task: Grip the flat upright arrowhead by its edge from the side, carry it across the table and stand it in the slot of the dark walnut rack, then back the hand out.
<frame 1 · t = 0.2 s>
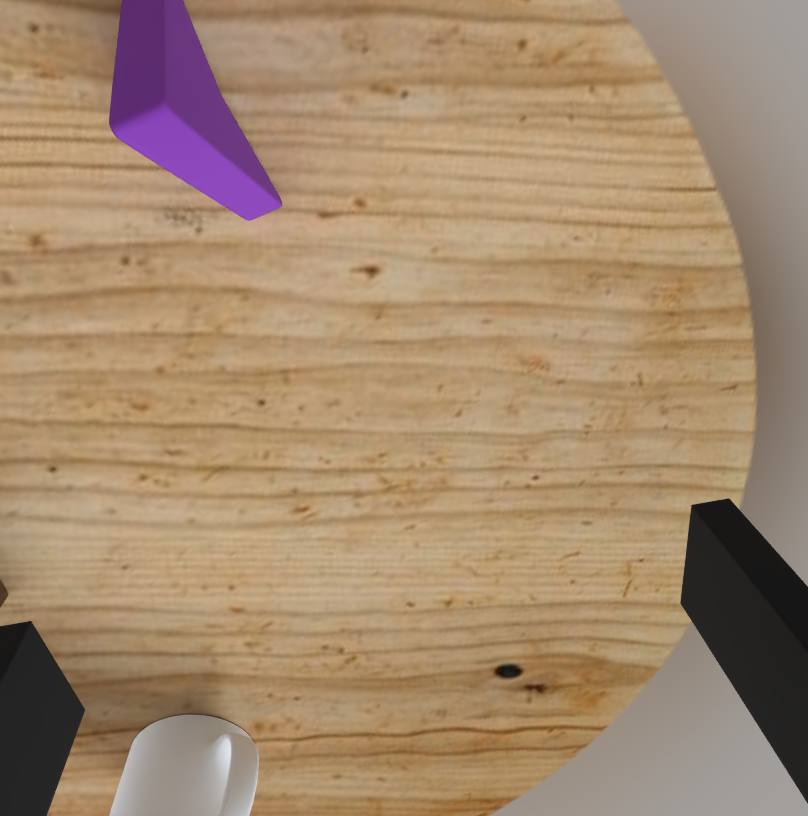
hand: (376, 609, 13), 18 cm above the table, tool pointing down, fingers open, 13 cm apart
arrowhead: (211, 101, 25), on the table
mug: (208, 735, 42), on the table
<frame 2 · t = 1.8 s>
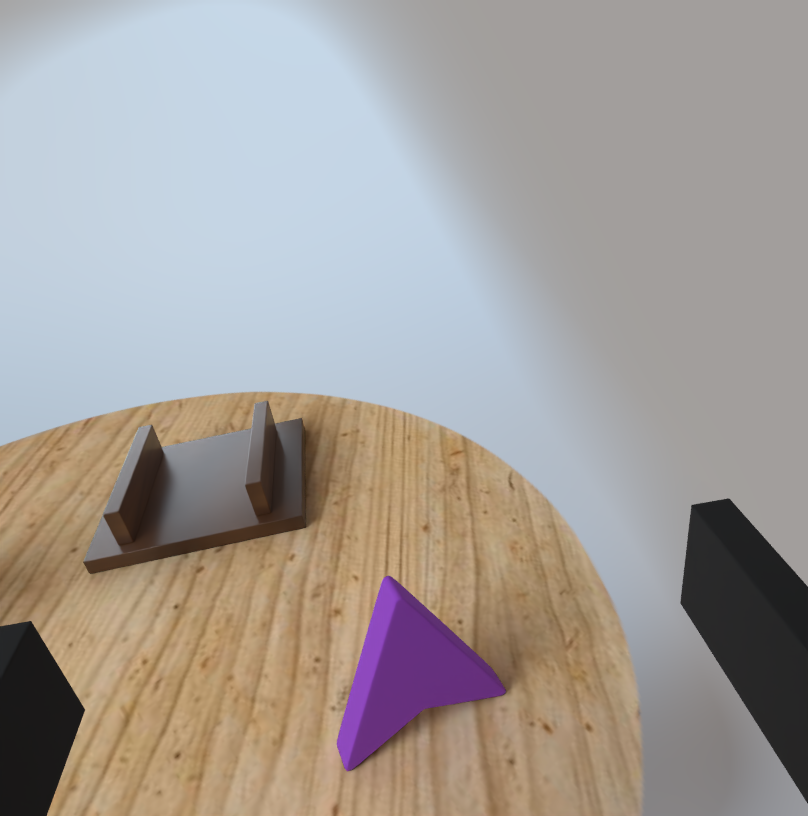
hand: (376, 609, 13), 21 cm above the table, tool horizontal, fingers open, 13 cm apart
arrowhead: (423, 721, 33), on the table
rack: (210, 492, 53), on the table
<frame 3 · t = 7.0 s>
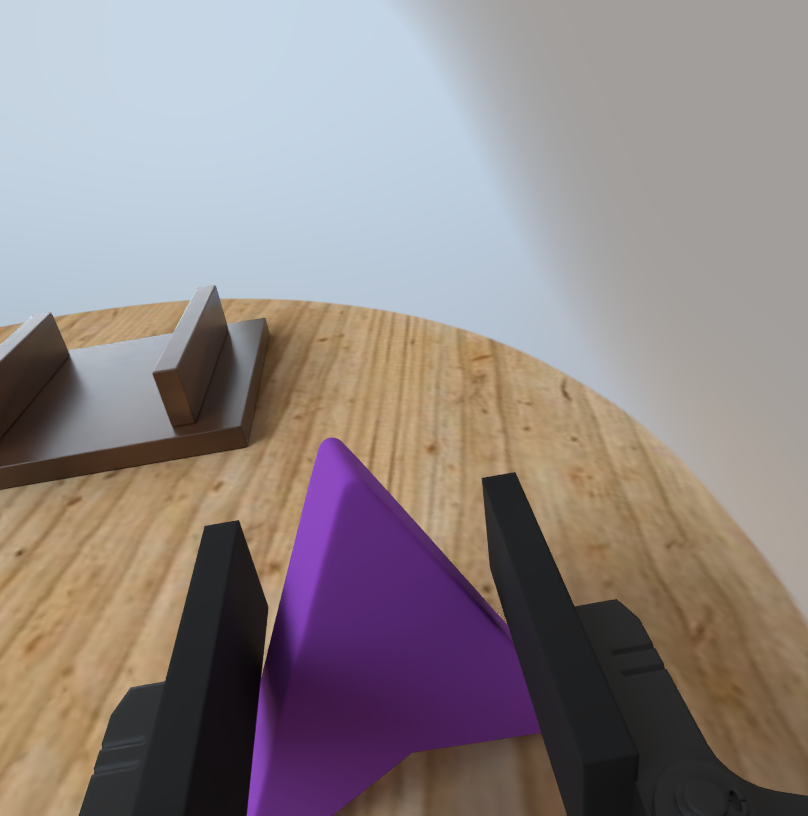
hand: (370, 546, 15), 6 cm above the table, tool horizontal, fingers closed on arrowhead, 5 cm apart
arrowhead: (411, 774, 16), on the table, touching gripper
rack: (121, 404, 37), on the table
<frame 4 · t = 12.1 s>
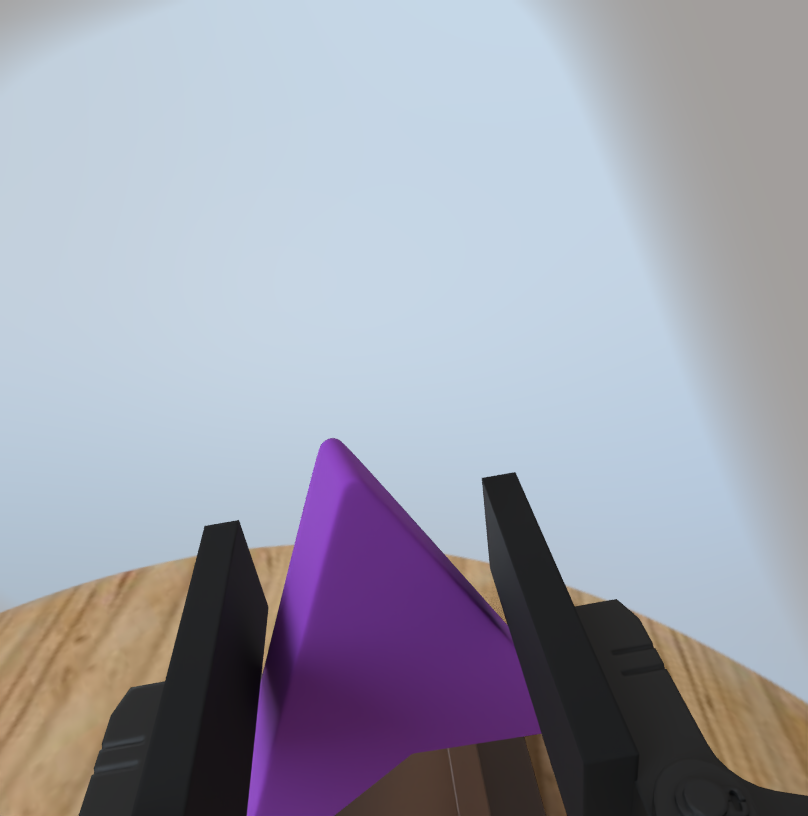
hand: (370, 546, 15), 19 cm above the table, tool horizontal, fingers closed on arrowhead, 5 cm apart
arrowhead: (411, 775, 16), point 13 cm above the table, touching gripper
rack: (353, 807, 28), on the table
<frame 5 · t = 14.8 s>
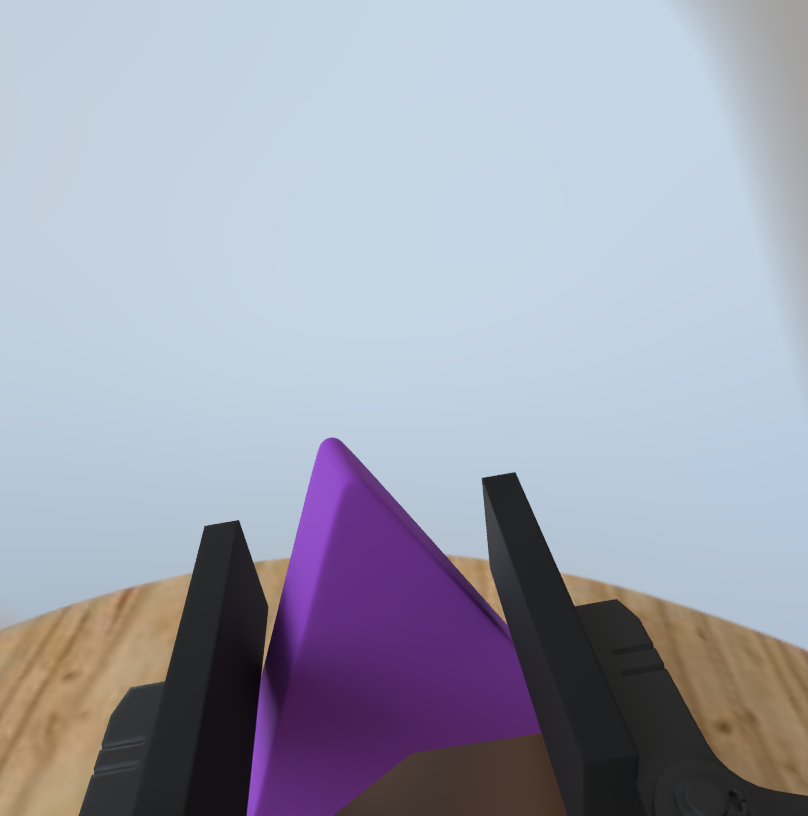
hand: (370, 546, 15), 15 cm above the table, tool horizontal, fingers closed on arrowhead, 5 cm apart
arrowhead: (411, 774, 16), point 8 cm above the table, touching gripper
when the fingers open (9 cm above the table, at t = 17.0 s): arrowhead stays where it is, resting on rack.
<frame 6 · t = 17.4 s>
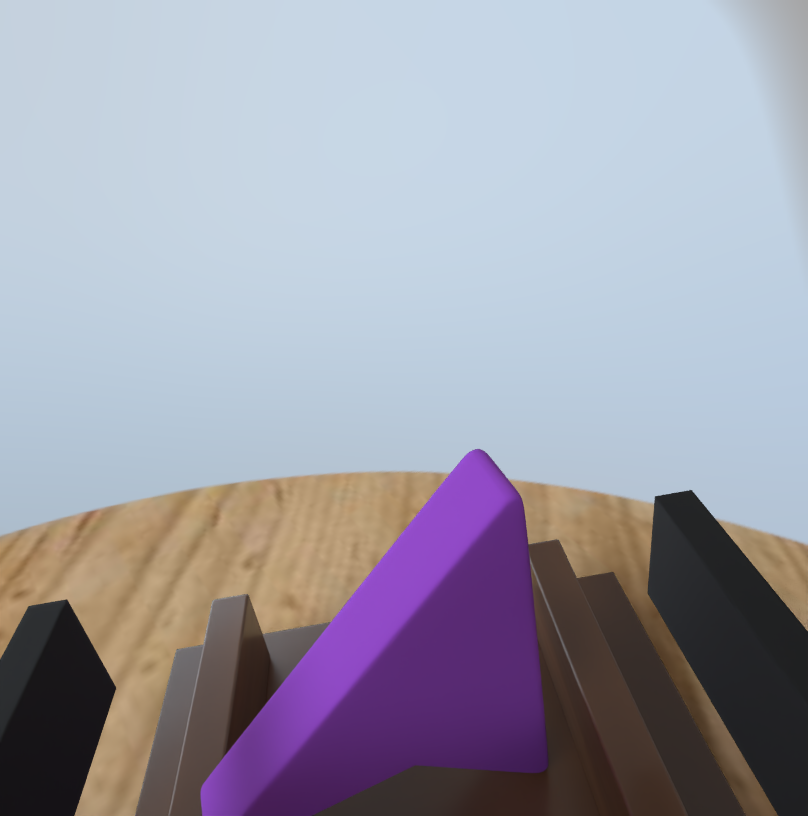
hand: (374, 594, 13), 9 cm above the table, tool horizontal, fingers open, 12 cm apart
arrowhead: (384, 785, 16), point 3 cm above the table, touching rack
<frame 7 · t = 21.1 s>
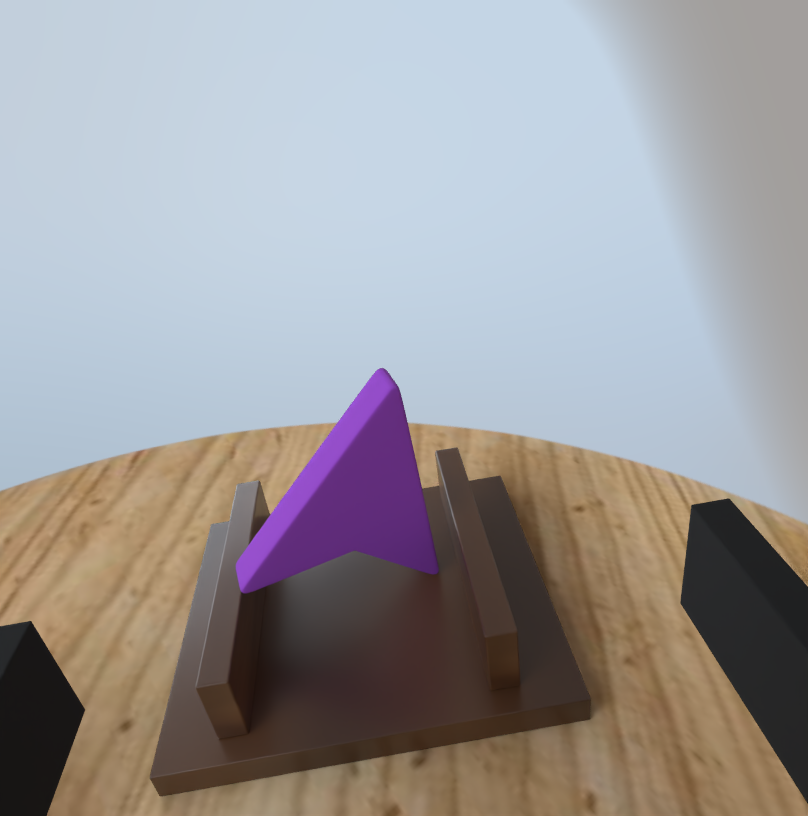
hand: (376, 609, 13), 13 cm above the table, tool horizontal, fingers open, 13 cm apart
arrowhead: (340, 574, 28), point 3 cm above the table, touching rack
rack: (366, 612, 30), on the table
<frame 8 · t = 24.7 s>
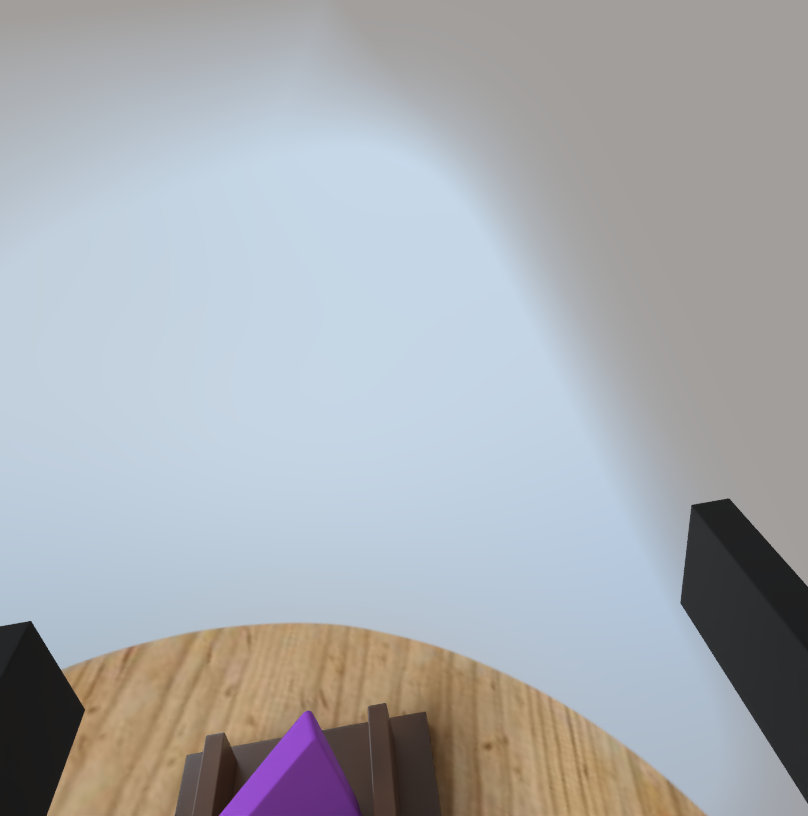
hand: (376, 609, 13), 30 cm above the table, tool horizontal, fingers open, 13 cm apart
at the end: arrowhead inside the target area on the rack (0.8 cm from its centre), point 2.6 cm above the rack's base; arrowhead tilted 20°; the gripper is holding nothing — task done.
